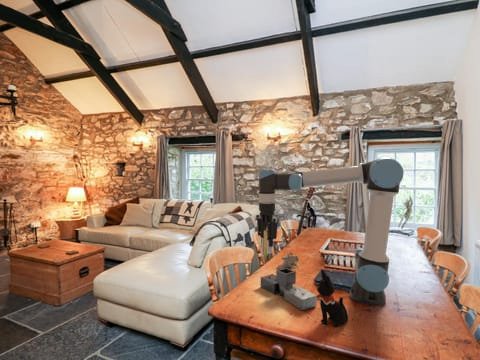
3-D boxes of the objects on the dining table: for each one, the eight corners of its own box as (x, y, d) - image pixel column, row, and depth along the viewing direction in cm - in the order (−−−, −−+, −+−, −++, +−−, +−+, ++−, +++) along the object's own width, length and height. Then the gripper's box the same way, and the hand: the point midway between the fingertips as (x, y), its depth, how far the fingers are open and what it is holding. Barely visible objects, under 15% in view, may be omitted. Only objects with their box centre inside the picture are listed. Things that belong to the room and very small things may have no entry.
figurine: (313, 317, 115) (313, 268, 114) (344, 316, 116) (345, 268, 115) (320, 328, 107) (320, 276, 106) (353, 327, 109) (354, 275, 108)
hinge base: (296, 295, 135) (296, 271, 135) (284, 299, 130) (285, 275, 130) (272, 283, 149) (272, 261, 148) (260, 287, 144) (260, 264, 143)
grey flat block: (316, 305, 124) (316, 295, 124) (302, 310, 120) (302, 299, 120) (297, 295, 134) (297, 285, 134) (284, 299, 130) (284, 288, 130)
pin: (271, 260, 133) (271, 230, 133) (266, 261, 132) (266, 231, 131) (267, 258, 136) (267, 229, 135) (262, 259, 134) (262, 230, 133)
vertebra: (292, 272, 159) (286, 254, 162) (277, 275, 166) (271, 258, 168) (309, 263, 175) (303, 247, 177) (294, 266, 181) (289, 251, 184)
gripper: (285, 203, 128) (284, 255, 129) (261, 200, 141) (261, 247, 142) (273, 204, 124) (272, 258, 125) (249, 201, 137) (249, 249, 138)
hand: (266, 252), depth 134 cm, fingers closed on pin, 3 cm apart
